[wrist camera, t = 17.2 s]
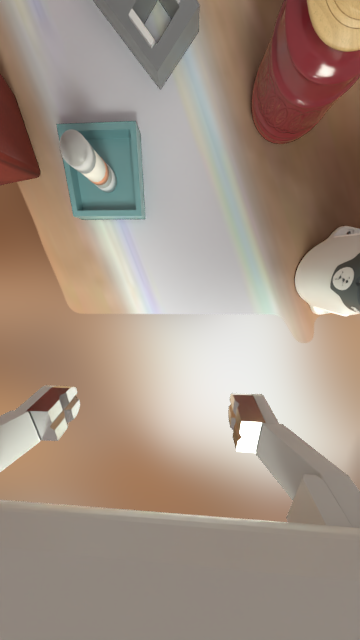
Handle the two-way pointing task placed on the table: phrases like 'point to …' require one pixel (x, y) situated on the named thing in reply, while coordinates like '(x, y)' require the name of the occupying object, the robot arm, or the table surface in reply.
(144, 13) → the fuse block
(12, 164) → the plant pot
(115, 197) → the tray
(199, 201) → the table surface
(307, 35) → the canister
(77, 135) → the grey capped cylinder
